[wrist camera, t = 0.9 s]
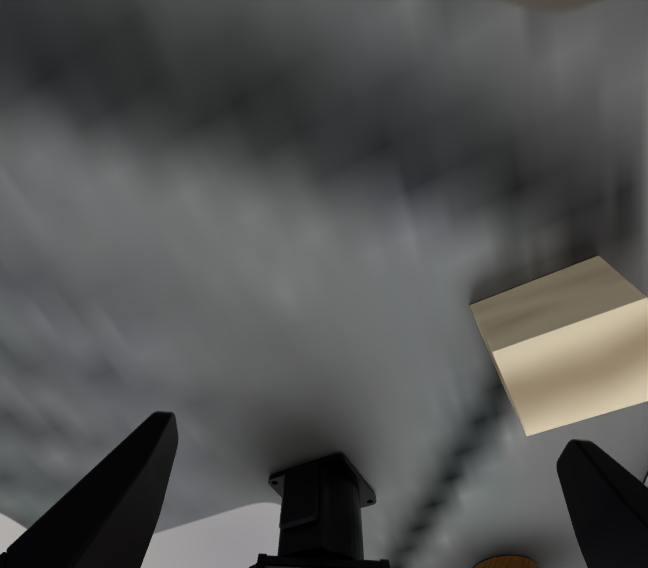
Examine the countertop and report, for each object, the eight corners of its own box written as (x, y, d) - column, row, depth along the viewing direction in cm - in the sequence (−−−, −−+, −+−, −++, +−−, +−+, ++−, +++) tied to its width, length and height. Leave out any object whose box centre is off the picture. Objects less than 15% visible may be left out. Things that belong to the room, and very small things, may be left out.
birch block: (617, 346, 25) (662, 396, 22) (502, 384, 27) (527, 436, 24) (598, 255, 22) (647, 297, 19) (469, 305, 24) (492, 352, 20)
